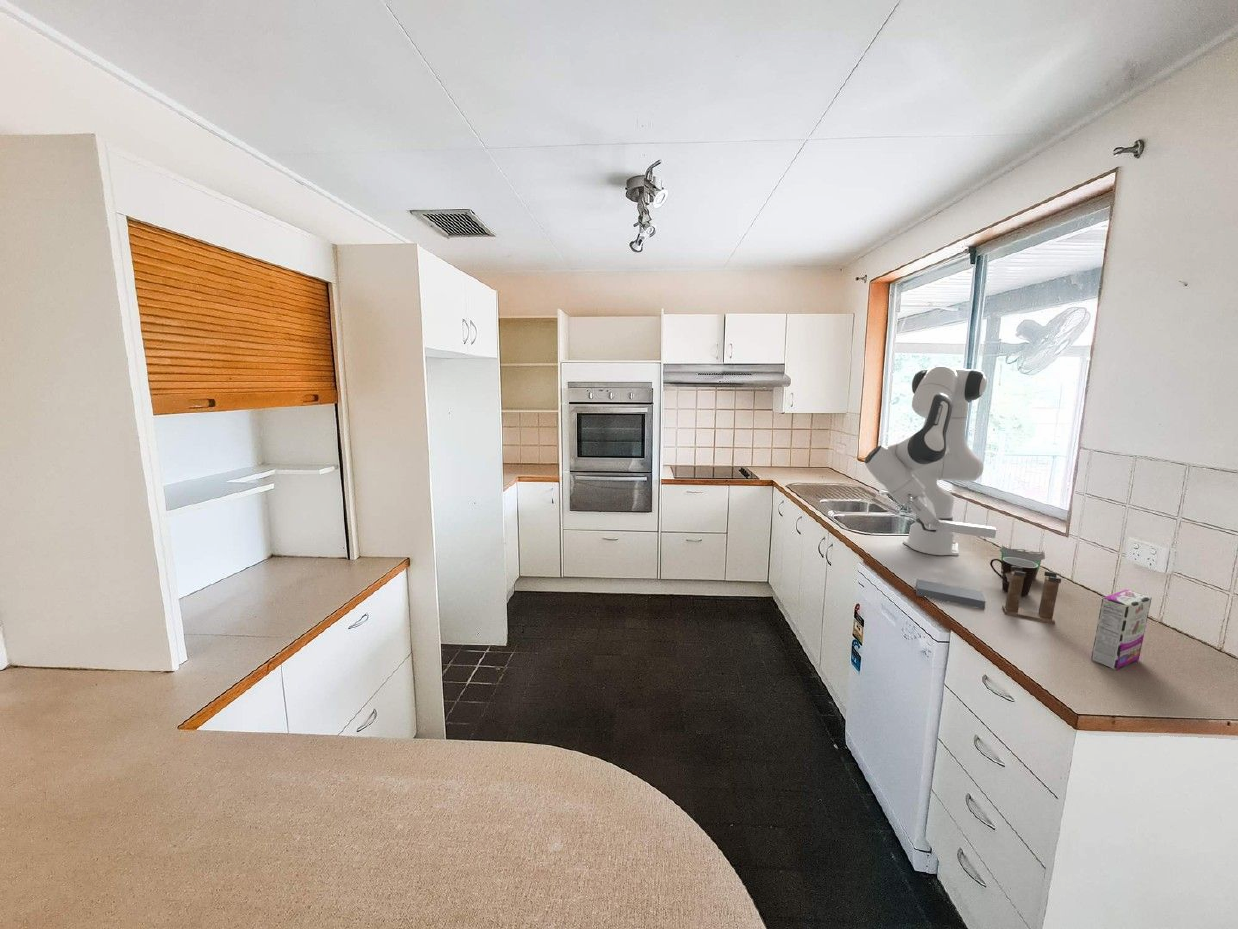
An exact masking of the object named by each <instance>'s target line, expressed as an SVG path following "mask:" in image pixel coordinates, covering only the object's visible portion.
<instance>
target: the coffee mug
mask: <svg viewBox="0 0 1238 929" xmlns="http://www.w3.org/2000/svg"><path fill="white" fill-rule="evenodd" d="M995 561H996V562H999V563H1000V565H1001V564H1002V565H1003V574H1000V572H999V571H997V570H996V569H995V566H994V565H993V563H994V562H995ZM989 565H990V567H991V569H992V571H993V572H995V574H996V575H997V576H998V577H999V578H1000V579H1001V580H1002V585H1001V586H1002V587H1001V588H1002V590H1001V591H1003V592H1005V593H1007V594H1008V588H1009V582H1010V577H1011V571H1013V570H1011V566H1016V567H1022V568H1023V569H1022V572H1025V573H1026V576H1025V577H1024V581H1023V587H1022V592H1021V598H1023V597H1028V596H1029V594H1030V590H1031V587H1032V585H1033V583H1034V581H1035V580H1034V577H1035V574H1036V571H1037V568H1038V565H1037V564H1036V563H1034V562H1032V561H1029V560H1025V559H1021V558H1014V557H1005V558H1003V561H1001V559H999V558H993V559H991V560H990V562H989ZM1033 580H1034V581H1033Z"/></svg>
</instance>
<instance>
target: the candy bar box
mask: <svg viewBox="0 0 1238 929" xmlns="http://www.w3.org/2000/svg"><path fill="white" fill-rule="evenodd" d="M1152 599H1153V598H1152V596H1148V595H1147V594H1142V593H1139V592H1136V591H1133V590H1130V589H1124V590H1121V591H1118V592H1115V593H1112V594H1108V595H1106V596H1103V597H1102V599H1101V604H1100V610H1099V616H1098V619H1097V620H1098V621H1097V626H1096V630H1095V631H1096V632H1095V638H1094V641H1093V642H1094V643H1093V646H1092V647H1093V648H1092V652H1091V658H1090V660H1091V661H1093V662H1095V663H1097V664H1099V665H1101V666H1104V667H1107V668H1109V669H1112V670H1114V671H1117V670H1119V669H1122V668H1124V667H1126V666H1129V665H1131V664H1132V663H1135V662H1137V661H1139V660H1140V656H1141V652H1142V646H1143V642H1144V638H1145V637H1144V636H1145V632H1146V627H1147V623H1148V617H1149V613H1150V607H1151V603H1152Z"/></svg>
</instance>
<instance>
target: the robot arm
mask: <svg viewBox="0 0 1238 929" xmlns="http://www.w3.org/2000/svg"><path fill="white" fill-rule="evenodd" d="M986 376H987V375H986V374H985V372H984V371H982V370H979V369H972V368H971V369H966V368H958V367H957V368H956V367H950V366H947V365H937V366H934V367H932V368H924V369H920V370H918V371H917V372H916V373H915V374H914V376H913V379H912V381H911V391H912V394H913V397H912V401H911V408H912V410H913V411H914V413H916V415H918V416H919V417H922V418H924V419H925V420H924V423H923V425H922V428H920V430H918V431H916V433H914V434H913V435H911V436H909V437H908V438H906V439H904V440H903V441H901V442H899V443H895V444H891V445H878V446H876V447H875V448H873V449H872V450H871V451H870V452H869V453H868V454H867V455H866V457H865V459H864V465H865V466H866V469H867V470H868V472H869V473H870V474H871V475H872V477H874V478H875V480H876V481H877V482H879V484H881V485H882V486H883V487H884V488H885V489H886V491H887V493H888V494H889V495H890V496H891V497H892V498H893V499H894V500H895V501H896V502H897V504H899V505H901V506H902V505H905V506H906V507H909V508H910V510H911V511H912V513H914V515H915V522H913V523H912V524H910V527H909V533H908V537H907V539H905V540H903V541H902V544H904V545H906V546H908V547H909V548H911V549H912V550H915V551H917V552H920V553H924V554H928V555H935V556H959V555H960V554H959V543H958V542H956V541H955V540H954V539H955V533H954V532H947V531H941V530H943V529H944V526H943V525H942V524H941V522H939V521H938V520H945V521H953V522H954V518H953V510H954V504H955V498H954V496H953V494H952V493H951V492H949V491H948V490H946V489H944V488H943V487H941V486H939V485H938V481H948V482H960V483H961V482H964V483H965V482H974V481H975V482H976V480H978V479H979V478H980V477H981V476H982V474H983V471H984V464H983V461H982V459H981V458H980V457H979V456H978V455H976V453H974V451H972V449H970V447H969V445H968V442H967V440H966V429H967V427H966V426H967V419H968V413H969V403H971V402H972V401H975V400H977V399H979V398H981V397H982V396H983V394H984V392H985V391H986V388H987V383H988V382H987V378H986ZM929 524H932V525H933V526H935V527H936V528H937V529H938V530H933V529H929Z"/></svg>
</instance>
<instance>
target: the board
mask: <svg viewBox="0 0 1238 929" xmlns="http://www.w3.org/2000/svg"><path fill="white" fill-rule="evenodd" d="M915 592H916V596H918V597H923V596H926V597H925V598H927V597H930V598H929V599H932V598H934V599H933V600H937V601H943V602H947V601H949V602H948V603H953V604H958V605H962V606H967V607H972V608H977V609H983V610H985V607H986V600H985V597H984V595H983V594H984V593H983V591H982V590H977V589H972V588H967V587H960V586H955V585H949V584H945V583H941V582H935V581H929V580H925V579H920V578H919V579H918V578H916V583H915ZM923 598H924V597H923Z"/></svg>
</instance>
